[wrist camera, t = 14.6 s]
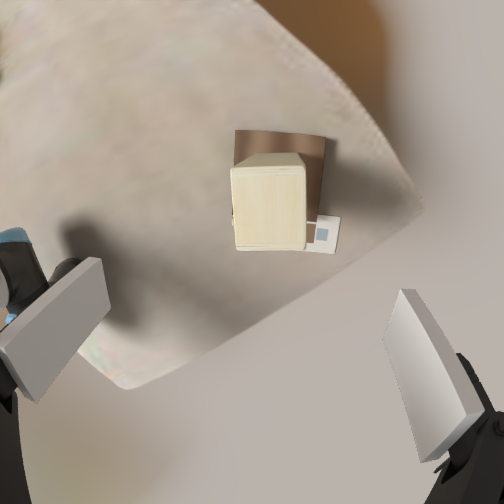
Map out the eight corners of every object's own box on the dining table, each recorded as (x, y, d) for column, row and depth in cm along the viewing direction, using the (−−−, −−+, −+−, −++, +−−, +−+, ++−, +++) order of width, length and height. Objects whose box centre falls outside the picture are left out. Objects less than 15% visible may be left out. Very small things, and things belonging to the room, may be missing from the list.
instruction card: (285, 249, 52) (285, 249, 52) (289, 211, 49) (289, 212, 49) (334, 253, 51) (334, 254, 51) (340, 216, 49) (340, 217, 48)
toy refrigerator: (250, 152, 43) (221, 168, 24) (297, 150, 42) (308, 165, 23) (252, 201, 46) (229, 253, 27) (298, 200, 45) (308, 253, 26)
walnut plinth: (235, 210, 50) (232, 214, 47) (238, 130, 44) (235, 130, 42) (315, 217, 49) (316, 222, 46) (323, 136, 43) (325, 137, 41)
